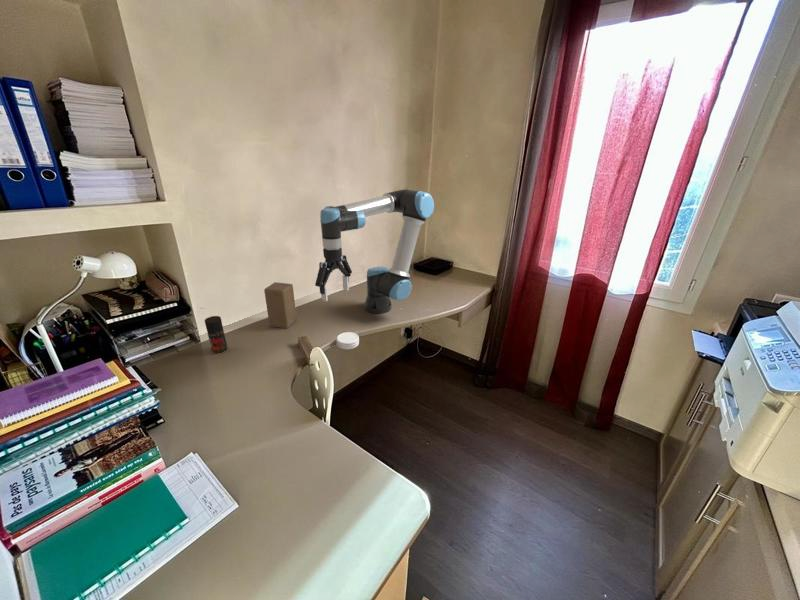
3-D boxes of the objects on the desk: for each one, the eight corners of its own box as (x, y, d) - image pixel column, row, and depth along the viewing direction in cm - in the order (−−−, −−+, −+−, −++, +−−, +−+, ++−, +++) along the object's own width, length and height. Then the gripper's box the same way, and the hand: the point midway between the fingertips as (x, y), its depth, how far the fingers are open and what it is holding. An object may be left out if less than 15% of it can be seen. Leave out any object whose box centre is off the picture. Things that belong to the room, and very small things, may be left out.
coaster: (332, 347, 149) (332, 340, 148) (343, 336, 158) (343, 330, 156) (352, 352, 146) (352, 345, 145) (362, 340, 155) (362, 334, 153)
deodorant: (208, 352, 143) (201, 321, 137) (220, 345, 148) (213, 314, 142) (219, 355, 141) (212, 323, 135) (230, 348, 146) (224, 317, 140)
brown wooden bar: (307, 342, 152) (306, 335, 150) (318, 363, 138) (318, 355, 136) (298, 344, 150) (297, 337, 149) (308, 365, 136) (308, 358, 134)
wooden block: (287, 329, 162) (282, 291, 154) (268, 326, 164) (263, 288, 156) (297, 319, 171) (293, 283, 163) (279, 317, 173) (274, 281, 165)
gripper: (345, 239, 149) (347, 284, 158) (302, 253, 130) (308, 302, 139) (358, 242, 146) (360, 287, 155) (316, 256, 126) (321, 307, 135)
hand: (335, 294), depth 147 cm, fingers open, 13 cm apart
